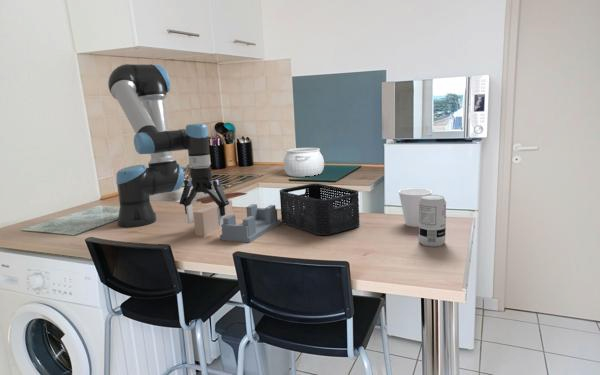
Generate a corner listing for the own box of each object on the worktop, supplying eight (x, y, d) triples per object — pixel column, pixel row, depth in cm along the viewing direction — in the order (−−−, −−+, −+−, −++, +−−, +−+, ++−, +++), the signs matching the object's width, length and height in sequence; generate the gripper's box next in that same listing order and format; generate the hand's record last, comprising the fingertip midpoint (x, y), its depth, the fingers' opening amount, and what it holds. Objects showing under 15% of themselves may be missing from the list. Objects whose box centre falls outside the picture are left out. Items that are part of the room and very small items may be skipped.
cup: (409, 218, 166) (409, 186, 163) (437, 223, 157) (438, 190, 155) (392, 225, 158) (392, 192, 155) (421, 230, 149) (421, 196, 147)
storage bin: (277, 222, 170) (275, 189, 167) (315, 213, 181) (314, 182, 178) (323, 238, 147) (321, 200, 144) (363, 226, 158) (363, 191, 155)
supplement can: (414, 239, 140) (414, 195, 137) (439, 238, 141) (439, 193, 138) (423, 248, 132) (424, 201, 129) (449, 246, 133) (450, 199, 130)
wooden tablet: (205, 205, 207) (205, 201, 207) (195, 202, 215) (194, 198, 214) (249, 195, 225) (249, 192, 224) (239, 192, 232) (238, 189, 232)
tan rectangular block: (195, 235, 156) (193, 212, 155) (225, 221, 175) (223, 199, 173) (204, 236, 155) (202, 212, 153) (233, 221, 173) (231, 200, 171)
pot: (325, 177, 264) (324, 150, 261) (282, 179, 265) (281, 152, 262) (323, 170, 292) (322, 146, 289) (285, 171, 293) (283, 148, 290)
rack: (220, 239, 150) (218, 219, 149) (253, 221, 172) (251, 203, 170) (250, 242, 145) (248, 221, 144) (280, 223, 167) (279, 204, 166)
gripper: (165, 168, 156) (172, 224, 160) (223, 168, 146) (229, 228, 150) (179, 165, 163) (184, 219, 167) (235, 165, 153) (240, 222, 157)
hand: (206, 223), depth 158 cm, fingers open, 13 cm apart
